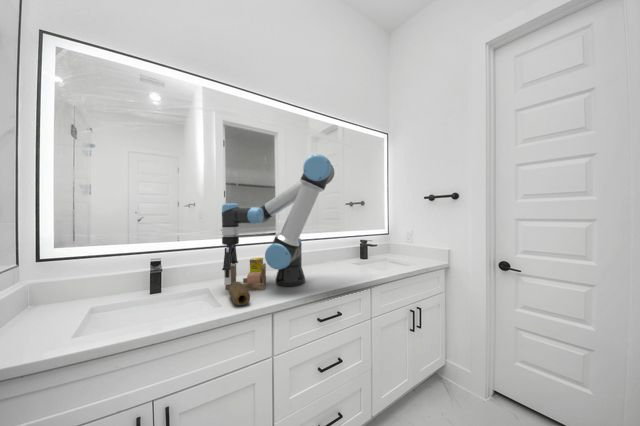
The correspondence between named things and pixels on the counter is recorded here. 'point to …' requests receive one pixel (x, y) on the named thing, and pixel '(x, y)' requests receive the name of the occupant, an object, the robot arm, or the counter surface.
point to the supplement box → (256, 265)
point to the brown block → (251, 278)
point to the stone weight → (239, 293)
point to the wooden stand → (257, 285)
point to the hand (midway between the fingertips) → (230, 280)
